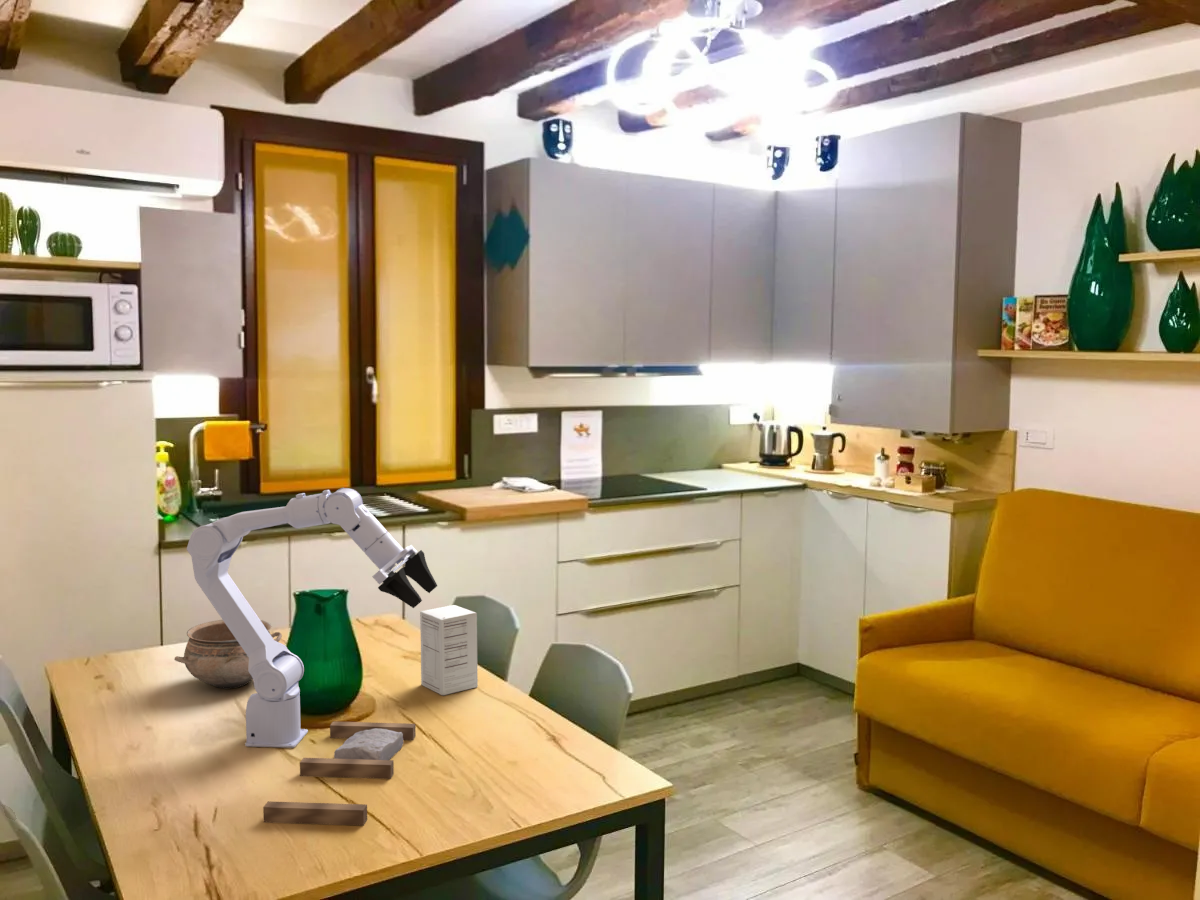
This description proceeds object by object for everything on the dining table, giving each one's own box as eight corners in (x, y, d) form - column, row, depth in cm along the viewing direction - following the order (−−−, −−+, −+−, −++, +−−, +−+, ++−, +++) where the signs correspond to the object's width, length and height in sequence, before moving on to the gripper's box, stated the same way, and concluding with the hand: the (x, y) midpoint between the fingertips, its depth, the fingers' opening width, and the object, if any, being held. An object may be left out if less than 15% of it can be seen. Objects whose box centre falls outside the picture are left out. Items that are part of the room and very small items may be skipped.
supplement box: (478, 687, 223) (478, 612, 221) (442, 696, 217) (442, 619, 215) (455, 676, 231) (455, 603, 229) (419, 684, 225) (419, 610, 223)
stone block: (331, 777, 182) (382, 771, 180) (326, 751, 182) (377, 745, 179) (360, 753, 193) (408, 748, 191) (355, 729, 193) (403, 723, 191)
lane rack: (263, 822, 161) (263, 807, 160) (333, 733, 196) (333, 721, 196) (363, 825, 160) (363, 810, 160) (415, 736, 196) (415, 723, 195)
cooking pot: (258, 660, 240) (257, 610, 238) (305, 678, 228) (304, 625, 226) (155, 688, 221) (152, 633, 219) (200, 709, 209) (198, 651, 207)
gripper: (373, 541, 179) (425, 598, 180) (406, 517, 193) (454, 570, 194) (348, 565, 182) (399, 621, 182) (382, 539, 195) (429, 592, 196)
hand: (425, 596), depth 188 cm, fingers open, 7 cm apart
